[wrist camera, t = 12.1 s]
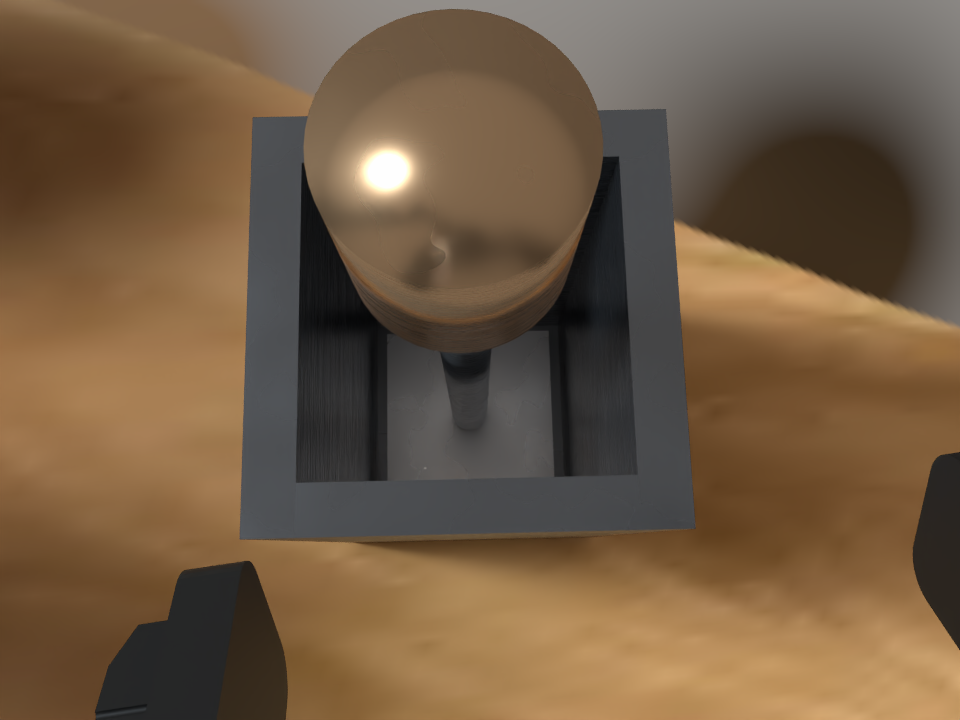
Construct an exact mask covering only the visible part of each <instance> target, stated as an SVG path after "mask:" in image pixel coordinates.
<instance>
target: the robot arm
mask: <svg viewBox="0 0 960 720" xmlns="http://www.w3.org/2000/svg"><path fill="white" fill-rule="evenodd" d="M913 564H914V570H915V574H916V578H917V581H918V584H919V586H920V589H921V591H922V593H923V595H924V597H925V599H926V600H927V602H928V603H929V605H930V606H931V608H932V609H933V611H934V612H935V614H936V615H937V617H938V618H939V620H940V621H941V623H942V624H943V626H944V627H945V629H946V630H947V632H948V633H949V635H950V636H951V638H952V639H953V641H954V642H955V644H956V645H957V647H958V648H959V650H960V452H958V453H952V454H945V455H941V456H939V457H937V458H936V460H935V461H934V463H933V465H932V468H931V471H930V475H929V480H928V484H927V488H926V493H925V497H924V501H923V506H922V510H921V515H920V519H919V523H918V528H917V532H916V536H915V541H914V546H913ZM287 693H288V687H287V670H286V662H285V656H284V651H283V647H282V644H281V641H280V638H279V635H278V632H277V629H276V626H275V623H274V621H273V618H272V615H271V612H270V609H269V606H268V603H267V601H266V598H265V595H264V592H263V589H262V586H261V583H260V581H259V578H258V575H257V572H256V570H255V567H254V566H253V564H252V563H251V562H250V561H243V562H236V563H230V564H223V565H216V566H209V567H203V568H196V569H189V570H184V571H183V572H182V573H181V574H180V576H179V578H178V580H177V584H176V588H175V592H174V596H173V600H172V604H171V608H170V612H169V616H168V620H167V621H160V622H154V623H147V624H141V625H138V626H137V628H136V629H135V631H134V632H133V633H132V635H131V636H130V637H129V639H128V640H127V642H126V643H125V644H124V646H123V647H122V648H121V650H120V651H119V653H118V654H117V655H116V657H115V658H114V660H113V661H112V662H111V664H110V665H109V666H108V670H107V673H106V677H105V680H104V683H103V687H102V690H101V693H100V697H99V700H98V704H97V707H96V710H95V713H96V720H286V709H287Z"/></svg>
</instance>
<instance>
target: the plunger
mask: <svg viewBox="0 0 960 720" xmlns="http://www.w3.org/2000/svg"><path fill="white" fill-rule="evenodd" d="M602 161H603V136H602V128H601V121H600V118H599V114H598V110H597V107H596V104H595V101H594V99H593V97H592V94H591V92H590V90H589V88H588V86H587V84H586V83H585V81H584V79H583V78H582V76H581V74H580V73H579V71H578V70H577V69H576V67H575V66H574V65H573V64H572V62H571V61H570V60H569V59H568V58H567V57H566V56H565V55H564V54H563V53H562V52H561V51H560V50H559V49H558V48H557V47H556V46H555V45H554V44H552V43H551V42H550V41H548V40H547V39H546V38H544V37H543V36H542V35H540V34H539V33H537V32H535V31H533V30H532V29H530V28H528V27H526V26H525V25H522V24H520V23H518V22H515V21H513V20H510V19H508V18H505V17H502V16H498V15H494V14H491V13H487V12H481V11H474V10H462V9H447V10H433V11H428V12H422V13H418V14H413V15H410V16H407V17H403V18H400V19H397V20H395V21H393V22H390V23H388V24H386V25H384V26H382V27H380V28H378V29H376V30H375V31H373V32H371V33H370V34H368V35H366V36H365V37H363V38H362V39H361V40H359V41H358V42H357V43H356V44H354V45H353V46H352V47H351V48H350V49H348V50H347V51H346V52H345V54H344V55H343V56H342V57H341V58H340V59H339V60H338V61H337V62H336V63H335V64H334V66H333V67H332V69H331V70H330V71H329V72H328V74H327V75H326V77H325V78H324V80H323V81H322V83H321V85H320V87H319V89H318V91H317V92H316V94H315V97H314V100H313V102H312V105H311V108H310V110H309V114H308V118H307V123H306V127H305V135H304V165H305V170H306V176H307V181H308V185H309V188H310V190H311V193H312V196H313V199H314V202H315V204H316V206H317V208H318V210H319V212H320V214H321V216H322V218H323V221H324V223H325V225H326V227H327V229H328V231H329V233H330V235H331V237H332V240H333V242H334V244H335V246H336V248H337V250H338V252H339V254H340V256H341V259H342V261H343V263H344V265H345V267H346V269H347V271H348V273H349V275H350V278H351V280H352V282H353V284H354V286H355V288H356V290H357V292H358V294H359V296H360V298H361V300H362V301H363V303H364V304H365V305H366V307H367V308H368V310H369V311H370V312H371V313H372V314H373V316H374V317H375V318H376V319H377V320H378V321H379V322H380V323H381V324H382V325H384V326H385V327H386V328H387V329H388V330H390V331H391V332H392V333H394V334H387V466H388V481H399V480H442V479H486V478H529V477H554V457H553V432H552V406H551V381H550V356H549V331H528V330H530V329H531V328H532V327H533V326H535V325H536V324H537V323H538V322H539V321H540V320H541V319H542V318H543V317H544V316H545V315H546V314H547V312H548V311H549V310H550V309H551V308H552V306H553V305H554V303H555V301H556V300H557V298H558V297H559V295H560V293H561V291H562V289H563V287H564V284H565V282H566V279H567V276H568V273H569V270H570V267H571V264H572V261H573V258H574V255H575V252H576V249H577V246H578V243H579V240H580V237H581V234H582V231H583V228H584V225H585V222H586V219H587V216H588V213H589V210H590V207H591V204H592V201H593V198H594V195H595V192H596V189H597V185H598V182H599V179H600V174H601V168H602Z"/></svg>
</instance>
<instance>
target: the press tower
mask: <svg viewBox="0 0 960 720" xmlns="http://www.w3.org/2000/svg"><path fill="white" fill-rule="evenodd" d="M598 114H599V118H600V121H601V128H602V136H603V161H602V168H601V174H600V179H599V182H598V185H597V189H596V192H595V195H594V198H593V201H592V204H591V207H590V210H589V213H588V216H587V219H586V222H585V225H584V228H583V231H582V234H581V237H580V240H579V243H578V246H577V249H576V252H575V255H574V258H573V261H572V264H571V267H570V270H569V273H568V276H567V279H566V282H565V284H564V287H563V289H562V291H561V293H560V295H559V297H558V298H557V300H556V301H555V303H554V305H553V306H552V308H551V309H550V310H549V311H548V312H547V314H546V315H545V316H544V317H543V318H542V319H541V320H540V321H539V322H538V323H537V324H536V325H535V326H533V327H532V328H531V329H530V330H528V331H549V356H550V381H551V406H552V432H553V457H554V477H529V478H486V479H442V480H399V481H388V466H387V334H394V333H392V332H391V331H390V330H388V329H387V328H386V327H385V326H384V325H382V324H381V323H380V322H379V321H378V320H377V319H376V318H375V317H374V316H373V314H372V313H371V312H370V311H369V310H368V308H367V307H366V305H365V304H364V303H363V301H362V300H361V298H360V296H359V294H358V292H357V290H356V288H355V286H354V284H353V282H352V280H351V278H350V275H349V273H348V271H347V269H346V267H345V265H344V263H343V261H342V259H341V256H340V254H339V252H338V250H337V248H336V246H335V244H334V242H333V240H332V237H331V235H330V233H329V231H328V229H327V227H326V225H325V223H324V221H323V218H322V216H321V214H320V212H319V210H318V208H317V206H316V204H315V202H314V199H313V196H312V193H311V190H310V188H309V185H308V181H307V176H306V170H305V165H304V135H305V127H306V123H307V118H308V116H301V117H253V128H252V160H251V192H250V224H249V257H248V289H247V321H246V353H245V386H244V418H243V450H242V482H241V515H240V539H246V540H282V541H318V542H393V541H436V540H478V539H521V538H563V537H596V536H609V535H622V534H634V533H647V532H659V531H672V530H685V529H696V528H695V514H694V500H693V486H692V472H691V458H690V443H689V429H688V415H687V401H686V387H685V373H684V359H683V345H682V331H681V316H680V302H679V288H678V274H677V260H676V246H675V232H674V218H673V204H672V191H671V176H670V161H669V148H668V134H667V119H666V109H656V110H655V109H651V110H604V111H603V110H602V111H598Z"/></svg>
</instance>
